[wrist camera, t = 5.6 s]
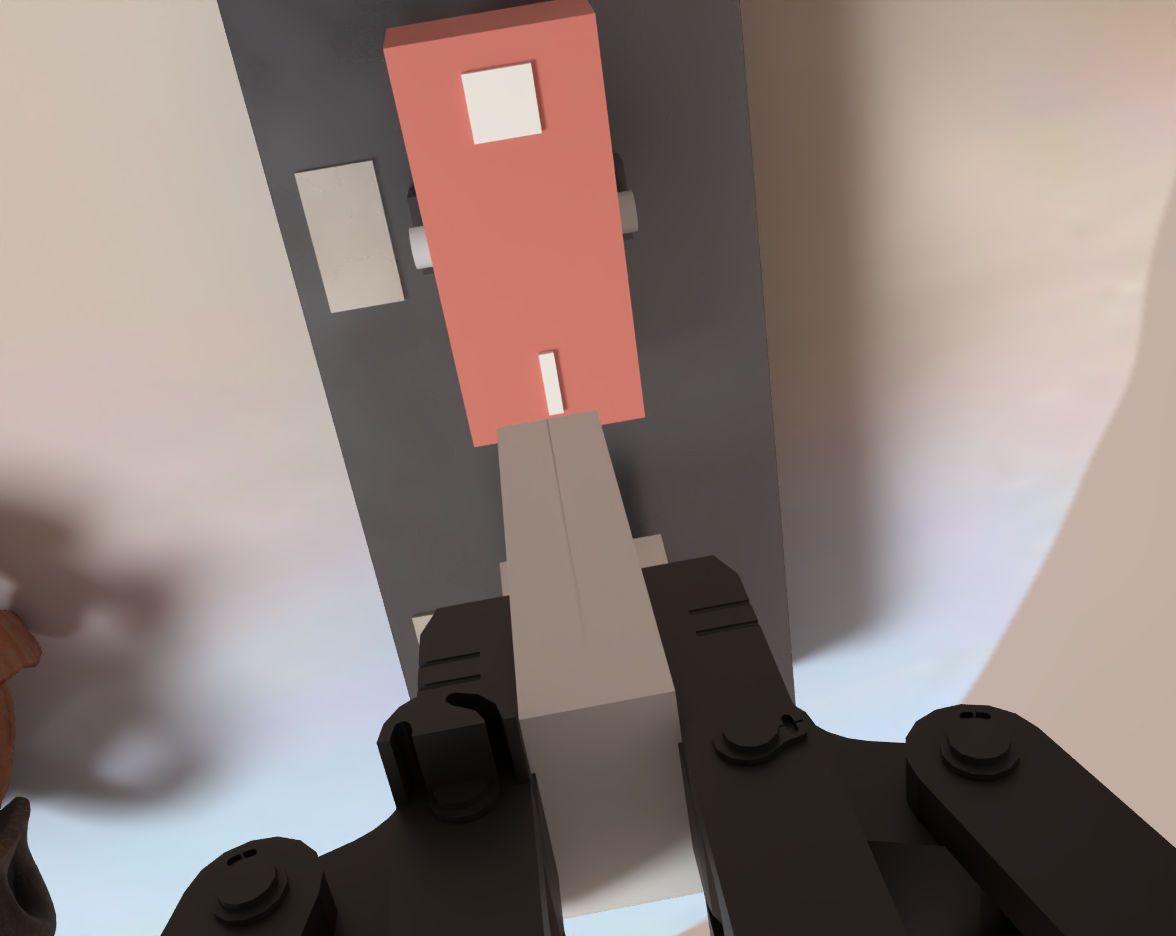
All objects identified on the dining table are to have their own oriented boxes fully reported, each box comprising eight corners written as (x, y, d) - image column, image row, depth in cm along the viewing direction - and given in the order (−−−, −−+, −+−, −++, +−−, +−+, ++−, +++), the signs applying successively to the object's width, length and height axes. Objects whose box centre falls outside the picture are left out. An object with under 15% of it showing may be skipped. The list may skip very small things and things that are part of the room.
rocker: (364, 32, 20) (358, 54, 18) (606, -8, 20) (619, 10, 18) (454, 411, 24) (455, 453, 23) (651, 377, 24) (664, 416, 23)
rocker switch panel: (189, -255, 23) (122, -298, 18) (671, -333, 23) (719, -395, 18) (448, 733, 34) (445, 852, 30) (765, 676, 34) (809, 785, 30)
